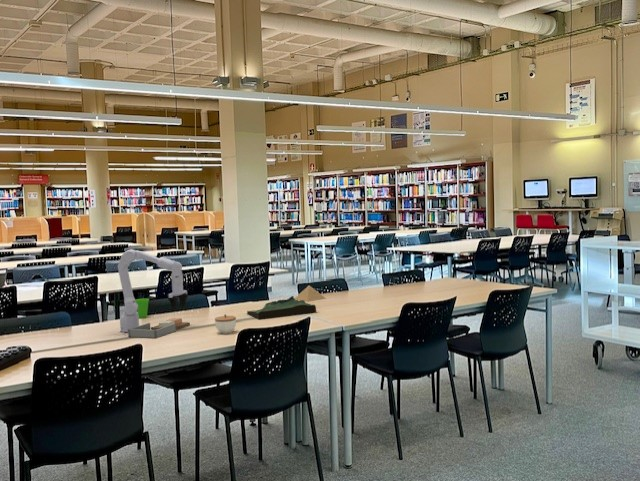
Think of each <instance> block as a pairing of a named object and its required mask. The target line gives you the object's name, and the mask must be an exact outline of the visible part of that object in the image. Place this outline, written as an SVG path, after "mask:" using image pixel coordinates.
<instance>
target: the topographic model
mask: <svg viewBox="0 0 640 481" xmlns="http://www.w3.org/2000/svg"><path fill="white" fill-rule="evenodd" d="M294 298H295V297H294V295H292V296H290V297H289V298H286V299H278V300H277V301H276V300H272V301H270V302H266V303H265V304H264V306H263V308H260V309H256V310H255V309H253V310H247V311H246V315H248V316H250V317H251V318H255V319H256V320H258V321H259V320H269V319H275V318H284V317H285V318H286V317H292V316H301V315H307V314H317V307H316V306H317V305H316V304H310V303H308V302H306V301H304V300H295V299H294Z"/></svg>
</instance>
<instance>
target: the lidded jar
mask: <svg viewBox="0 0 640 481" xmlns="http://www.w3.org/2000/svg"><path fill="white" fill-rule="evenodd" d="M214 321H215V322H214V323H215V328H216V329H217V332H219V333H220V334H222V335H226V334H227V335H228V334H231V333H233V331H234V330H235V329H236V324H237V323H236V321H237V317H236V316H234V315H227V314H226V313H225V314H224V315H223V316H222V315H221V316H216V317H215V318H214Z"/></svg>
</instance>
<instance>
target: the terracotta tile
mask: <svg viewBox="0 0 640 481" xmlns="http://www.w3.org/2000/svg"><path fill="white" fill-rule="evenodd" d="M165 321H175V325H177V324H180V323H182V322H183V318H181V317H180V318H179V317H171V318H169V319H165Z"/></svg>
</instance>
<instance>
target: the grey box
mask: <svg viewBox="0 0 640 481" xmlns="http://www.w3.org/2000/svg"><path fill="white" fill-rule="evenodd" d="M176 331H177V330H176V329H175V324H171V325H169V326H166V327H163V328H160V329H157V330H151V323H150V322H147V323H145V324H141V325H140V324H139V326H137V327H134V328H131V329H128V332H127V334H128V338H141V339H142V338H144V339H158V338H161V337H164V336H167V335H169V334H172V333H175V332H176Z"/></svg>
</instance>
